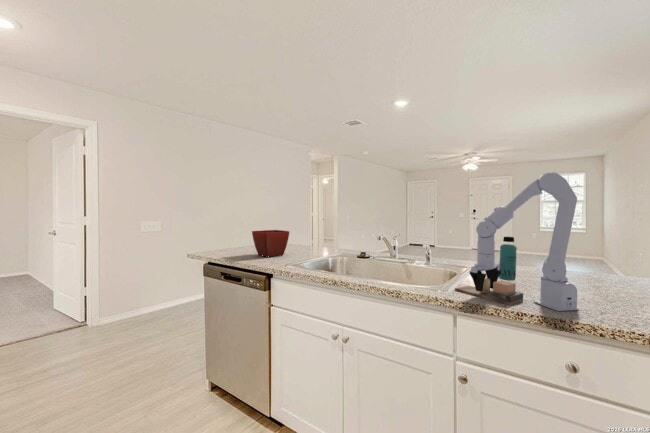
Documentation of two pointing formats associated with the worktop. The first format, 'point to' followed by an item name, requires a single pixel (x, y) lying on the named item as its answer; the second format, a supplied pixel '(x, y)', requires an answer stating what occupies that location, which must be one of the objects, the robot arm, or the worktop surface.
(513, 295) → the lane shelf
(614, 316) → the worktop surface
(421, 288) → the worktop surface
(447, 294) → the worktop surface
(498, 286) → the clay block
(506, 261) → the beverage bottle
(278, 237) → the plant pot
